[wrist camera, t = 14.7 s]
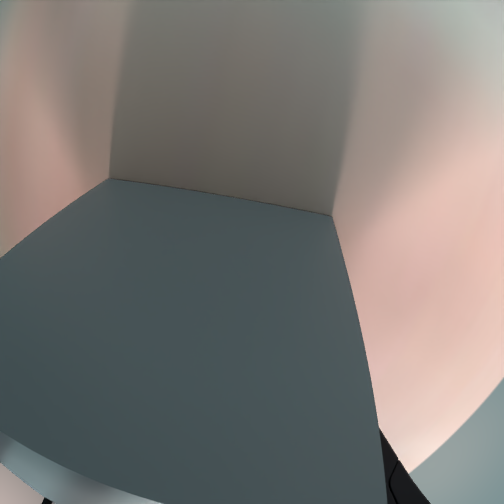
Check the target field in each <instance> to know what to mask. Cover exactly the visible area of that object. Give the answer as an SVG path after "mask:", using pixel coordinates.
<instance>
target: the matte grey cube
mask: <svg viewBox="0 0 504 504" xmlns="http://www.w3.org/2000/svg"><path fill="white" fill-rule="evenodd" d="M0 462H1V463H2V464H3V465H4V466H5V467H6V468H8V469H9V470H10V471H11V472H12V473H13V474H15V475H16V476H17V477H19V478H20V479H21V480H22V481H23V482H25V483H26V484H27V485H29V486H30V487H31V488H33V489H34V490H35V491H37V492H38V493H39V494H41V495H42V496H44V497H45V498H47V499H49V500H51V501H53V502H55V503H57V504H387V494H386V483H385V473H384V464H383V456H382V448H381V440H380V433H379V426H378V419H377V413H376V406H375V400H374V394H373V388H372V383H371V377H370V372H369V367H368V361H367V356H366V351H365V346H364V342H363V337H362V332H361V328H360V323H359V319H358V314H357V310H356V305H355V301H354V297H353V293H352V289H351V285H350V281H349V277H348V273H347V269H346V265H345V261H344V257H343V254H342V250H341V246H340V243H339V239H338V236H337V232H336V229H335V225H334V222H333V218H332V216H327V215H322V214H317V213H313V212H308V211H303V210H298V209H293V208H288V207H283V206H277V205H272V204H267V203H262V202H256V201H251V200H245V199H240V198H234V197H228V196H222V195H217V194H211V193H205V192H198V191H192V190H186V189H180V188H173V187H166V186H160V185H153V184H146V183H139V182H132V181H124V180H117V179H109V178H108V179H107V180H105V181H103V182H102V183H100V184H99V185H97V186H96V187H94V188H93V189H91V190H90V191H88V192H87V193H85V194H84V195H82V196H81V197H79V198H78V199H77V200H75V201H74V202H72V203H71V204H69V205H68V206H67V207H65V208H64V209H62V210H61V211H60V212H58V213H57V214H56V215H54V216H53V217H52V218H50V219H49V220H48V221H46V222H45V223H44V224H42V225H41V226H40V227H38V228H37V229H36V230H34V231H33V232H32V233H31V234H29V235H28V236H27V237H26V238H24V239H23V240H22V241H21V242H19V243H18V244H17V245H16V246H15V247H13V248H12V249H11V250H10V251H9V252H7V253H6V254H5V255H4V256H3V257H2V258H0Z"/></svg>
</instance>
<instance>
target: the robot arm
mask: <svg viewBox="0 0 504 504" xmlns="http://www.w3.org/2000/svg"><path fill="white" fill-rule="evenodd" d="M379 433H380V440H381V448H382V456H383V464H384V473H385V483H386V494H387V504H430V502H429V501H428V500H427V499H426V497H425V496H424V495H423V494H422V492H421V491H420V490H419V488H418V487H417V486H416V484H415V483H414V482H413V480H412V479H411V477H410V476H409V474H408V473H407V471H406V470H405V468H404V466H403V465H402V463H401V462H400V460H398V457H397V455H396V454H395V452H394V451H393V449H392V447H391V446H390V444H389V443H388V441H387V439H386V438H385V436H384V435H383V433H382V431H381V430H380V428H379ZM42 504H55V502H53V501H51V500H49V499H47V498H45V497H44V500H43V502H42ZM56 504H57V503H56Z"/></svg>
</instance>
